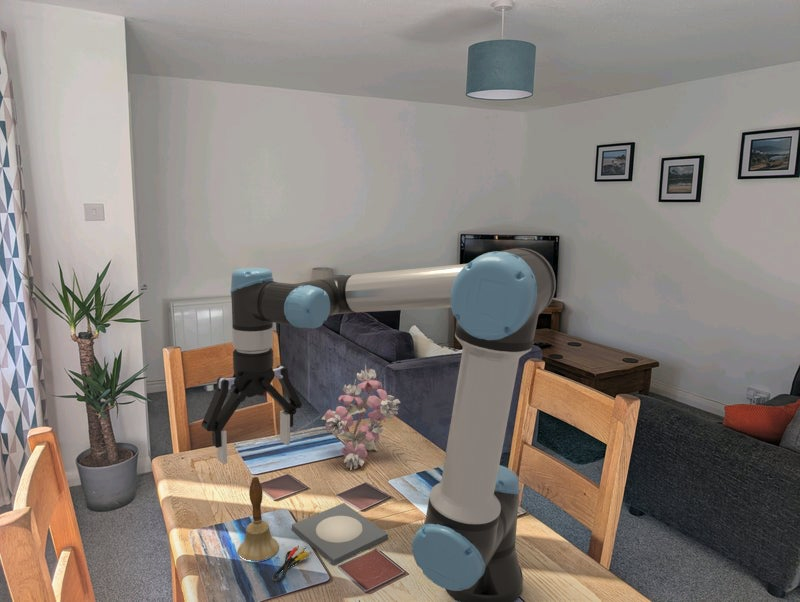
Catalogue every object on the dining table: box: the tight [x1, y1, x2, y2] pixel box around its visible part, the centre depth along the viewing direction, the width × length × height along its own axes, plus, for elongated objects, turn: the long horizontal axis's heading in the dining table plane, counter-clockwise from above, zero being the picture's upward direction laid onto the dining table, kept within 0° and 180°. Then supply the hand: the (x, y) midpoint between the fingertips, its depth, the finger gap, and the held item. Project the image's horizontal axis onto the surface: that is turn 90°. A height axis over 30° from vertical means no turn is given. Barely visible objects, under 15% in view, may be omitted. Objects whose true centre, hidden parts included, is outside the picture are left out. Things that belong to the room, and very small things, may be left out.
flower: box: [320, 363, 402, 471], centre depth 158 cm, size 20×22×25 cm
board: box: [291, 502, 389, 566], centre depth 123 cm, size 16×14×1 cm
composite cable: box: [271, 545, 312, 583], centre depth 111 cm, size 10×5×2 cm, turn 149°
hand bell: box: [237, 476, 280, 562], centre depth 115 cm, size 8×8×16 cm
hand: (254, 451), depth 113 cm, fingers open, 13 cm apart
